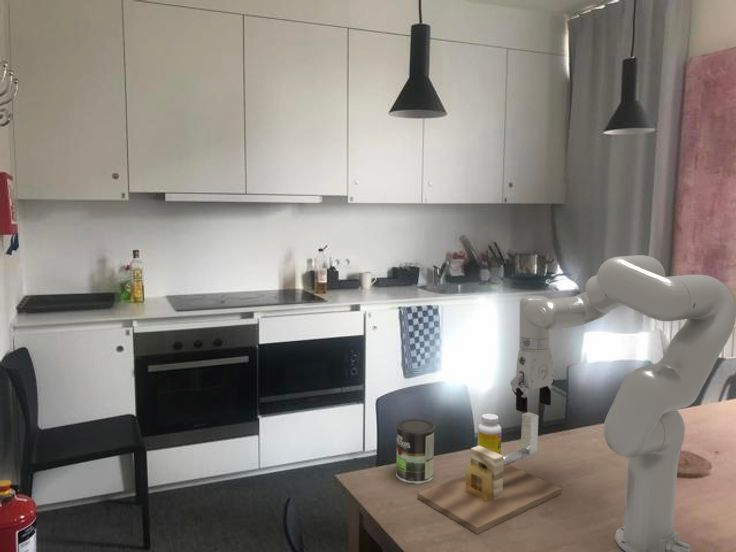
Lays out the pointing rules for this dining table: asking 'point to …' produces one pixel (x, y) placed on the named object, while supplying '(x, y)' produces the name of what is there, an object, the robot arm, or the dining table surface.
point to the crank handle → (524, 440)
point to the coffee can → (415, 451)
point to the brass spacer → (487, 481)
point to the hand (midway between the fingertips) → (533, 407)
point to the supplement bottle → (490, 433)
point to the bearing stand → (509, 494)
